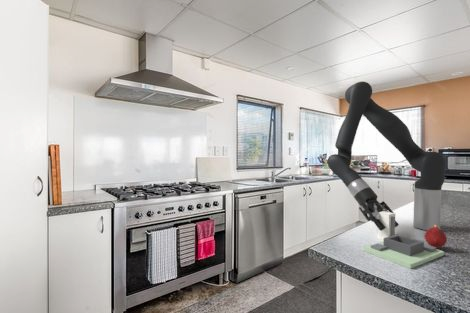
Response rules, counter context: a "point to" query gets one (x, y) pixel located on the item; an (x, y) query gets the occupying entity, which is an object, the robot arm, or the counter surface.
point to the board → (404, 251)
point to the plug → (386, 224)
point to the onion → (435, 237)
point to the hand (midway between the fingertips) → (390, 227)
